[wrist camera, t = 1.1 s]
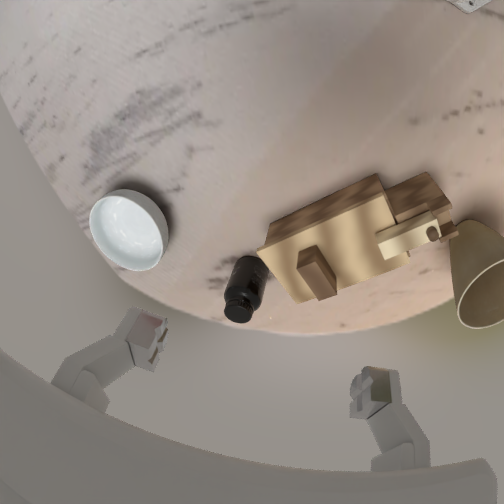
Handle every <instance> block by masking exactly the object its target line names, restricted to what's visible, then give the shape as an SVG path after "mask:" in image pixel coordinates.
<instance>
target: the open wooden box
mask: <svg viewBox="0 0 504 504" xmlns="http://www.w3.org/2000/svg"><path fill="white" fill-rule="evenodd" d="M381 192H382V193H383V196H384V198H385V200H386V202H387V205H388V207H389V209H390V212H391V214H392V216H393V219H394V221H395V223H396V225H398V224H400V223H403V222H405V221H407V220H410V219H412V218H414V217H416V216H419V215H421V214H423V213H425V212H428V211H431V213H432V215H433V216H435V217H436V218H437V221H438V225H439V228H440V232H441V237H439V240H440V242H441V243H442V242H444V241H446V240H448V239H451V238H453V237H455V236H457V235H459V234H458V230H457V228H456V227H455V225H454V224H453V222H452V220H451V216H450V213H449V209H452V204H451V202H450V201H449V200H448V198H447V197H446V196H445V194H444V193H443V192H442V190H441V189H440V188H439V187H438V185H437V184H436V183H435V182H434V180H433V179H432V178H431V177H430V176H429V174H428V173H427V172H425V173H422V174H420V175H418V176H416V177H414V178H411V179H409V180H407V181H405V182H402V183H400V184H398V185H396V186H394V187H391V188H389V189H387V190H385V191H384V189H383V187H382V185H381V183H380V181H379V178H378V176H377V174H374V175H372V176H370V177H368V178H365V179H363V180H361V181H359V182H357V183H355V184H353V185H350V186H348V187H346V188H344V189H342V190H340V191H338V192H336V193H333V194H331V195H329V196H327V197H325V198H323V199H321V200H319V201H317V202H314V203H312V204H310V205H308V206H306V207H304V208H302V209H300V210H298V211H296V212H294V213H292V214H289V215H287V216H285V217H283V218H281V219H279V220H277V221H275V222H273V223H271V224H270V227H269V230H268V234H267V237H266V241H265V244H264V245H266V244H268V243H271V242H273V241H275V240H277V239H279V238H282V237H284V236H286V235H288V234H290V233H293V232H295V231H297V230H299V229H301V228H304V227H306V226H308V225H310V224H312V223H315V222H317V221H319V220H321V219H323V218H326V217H328V216H330V215H332V214H335V213H337V212H339V211H341V210H343V209H346V208H348V207H350V206H352V205H354V204H357V203H359V202H361V201H363V200H365V199H368V198H370V197H372V196H374V195H377V194H379V193H381ZM406 252H407V255H408V257H410V253H409V251H406Z"/></svg>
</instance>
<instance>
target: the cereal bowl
mask: <svg viewBox="0 0 504 504" xmlns="http://www.w3.org/2000/svg"><path fill="white" fill-rule="evenodd" d="M89 223H90V230H91V233H92V236H93V238H94V240H95V242H96V244H97V245H98V247H99V248H100V249H101V251H102V252H103V253H104V254H105V255H106V256H107V257H108V258H109V259H111V260H112V261H113V262H115V263H116V264H118V265H120V266H122V267H124V268H126V269H130V270H134V271H144V270H149V269H151V268H153V267H154V266H156V265H157V264H158V263H159V261H160V260H161V258H162V257H163V255H164V253H165V251H166V248H167V244H168V240H169V239H168V238H169V235H168V234H169V233H168V226H167V223H166V220H165V217H164V215H163V213H162V212H161V210H160V209H159V207H158V206H157V205H156V204H155V203H154V202H153V201H152V200H151V199H150V198H148V197H147V196H145V195H144V194H141V193H139V192H137V191H133V190H128V189H120V190H115V191H112V192H109V193H107V194H106V195H104V196H103V197H102V198H100V199H99V200H98V201H97V202H96V203H95V204H94V206H93V208H92V210H91V213H90V219H89Z"/></svg>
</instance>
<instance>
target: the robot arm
mask: <svg viewBox="0 0 504 504" xmlns="http://www.w3.org/2000/svg"><path fill="white" fill-rule="evenodd" d="M447 1H449V2H451V3H452V4H454V5H455V6H456V7H457V8H459V9H460V10H461V11H463V12H465V13H471V12H473V11H475V10H477V9H478V8H480V7H482V6H483V5H485V4H487V3H488V2H490V1H492V0H447ZM469 2H470V3H471V5H472V6H471V5H470V4H469ZM167 323H168V321H167V318H165V317H162V316H159V315H157V314H154V313H151V312H148V311H145V310H143V309H140V308H137V307H134V306H132V307H131V308H129V310H128V311H127V313H126V315H125V316H124V318H123V320H122V321H121V323H120V324H119V326H118V328H117V330H116V331H115V333H114V335H113V336H111V335H109V336H107V337H105V338H103V339H101V340H99V341H97V342H96V343H93V344H91V345H89V346H88V347H86V348H84V349H82V350H80V351H78V352H76V353H74V354H72V355H70V356H69V357H67V358H65V359H64V361H63V363H62V364H61V366H60V368H59V369H58V371H57V373H56V375H55V376H54V378H53V380H52V381H51V383H49V382H47V381H46V380H44V379H43V378H41V377H39V376H38V375H36V374H35V373H33V372H32V371H30V370H29V369H27V368H26V367H25V366H23V365H22V364H20V363H19V362H17V361H16V360H15V359H13V358H12V357H11V356H9V355H8V354H7V353H5V352H4V351H3V350H2V349H0V504H497V478H496V475H495V473H494V471H493V469H492V468H491V466H490V465H489V463H488V462H487V461H486V459H484V458H477V459H472V460H468V461H463V462H458V463H452V464H447V465H441V466H434V467H431V466H430V445H429V440H428V438H427V437H426V435H425V434H424V432H423V431H422V429H421V428H420V426H419V425H418V423H417V422H416V420H415V419H414V417H413V416H412V414H411V413H410V411H409V410H408V408H407V407H406V405H405V404H402V396H401V387H400V378H399V373H398V371H396V370H390V369H385V368H377V367H370V366H366V367H364V368H363V369H362V373H361V374H359V375H356V376H355V378H354V379H353V381H352V383H351V387H350V396H351V397H352V399H353V401H352V402H351V403H350V418H358V419H367V420H366V421H367V423H368V425H369V427H370V429H371V431H372V433H373V435H374V437H375V440H376V442H377V444H378V446H379V448H380V450H381V452H382V454H380V455H378V456H376V457H374V458H373V459H372V460H371V471H370V472H352V471H326V470H313V469H302V468H293V467H285V466H277V465H271V464H265V463H259V462H254V461H249V460H244V459H239V458H234V457H229V456H225V455H222V454H217V453H214V452H210V451H206V450H202V449H199V448H195V447H192V446H188V445H185V444H182V443H179V442H176V441H173V440H170V439H167V438H164V437H161V436H159V435H156V434H153V433H151V432H148V431H145V430H143V429H140V428H138V427H135V426H133V425H130V424H128V423H126V422H123V421H121V420H119V419H117V418H114V417H112V416H110V415H108V414H106V413H105V411H106V409H107V406H108V404H109V402H110V401H109V398H108V397H107V395H106V393H105V392H104V390H103V389H104V388H105V387H106V386H108V385H109V384H111V383H112V382H113V381H115V380H117V379H118V378H119V377H121V376H122V375H124V374H125V373H126V372H128V371H129V370H131V369H132V368H134V367H135V366H137V367H140V368H143V369H146V370H149V371H152V372H154V370H155V368H156V365H157V363H158V361H159V353H160V352H162V351H163V350H164V348H165V345H166V342H167V338H168V329H167V328H166V326H167Z"/></svg>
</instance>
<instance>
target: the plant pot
mask: <svg viewBox="0 0 504 504" xmlns="http://www.w3.org/2000/svg"><path fill="white" fill-rule="evenodd" d="M456 228H457V230H458V234H459V235H457V236H455V237H453V238H451V239H450V260H451V273H452V283H453V290H454V297H455V303H456V309H457V314H458V318H459V320H460V322H461V323H462V324H463V325H465V326H466V327H469V328H474V329H478V328H486V327H490V326H493V325H496V324H498V323H500V322H501V321H503V320H504V237H503V236H501V235H500V234H499V233H497V232H496V231H494V230H493V229H491V228H489V227H487V226H486V225H484V224H482V223H479V222H477V221H475V220H465V221H463V222H461V223H460V224H458V225H457V226H456Z"/></svg>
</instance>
